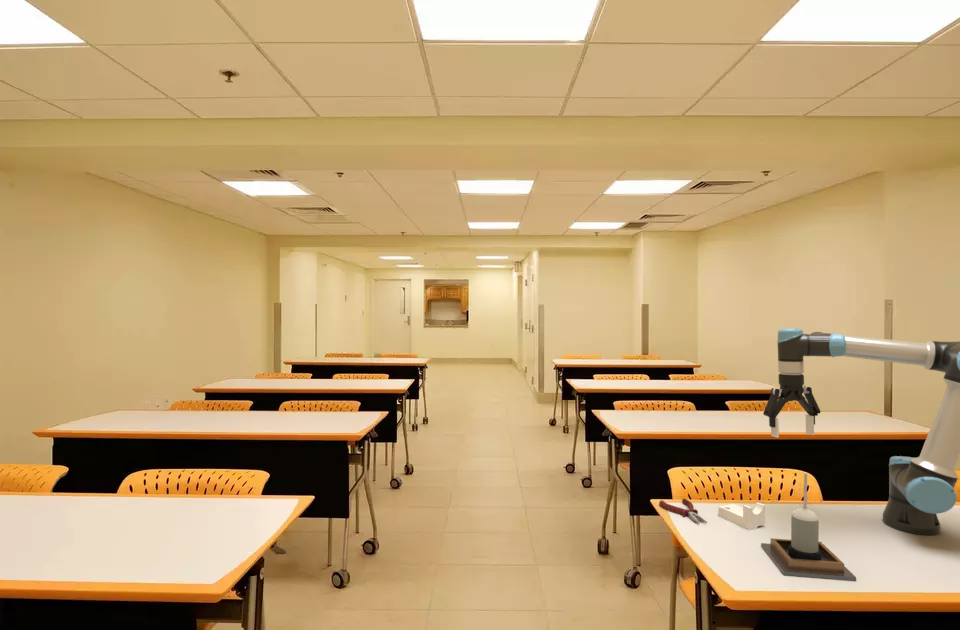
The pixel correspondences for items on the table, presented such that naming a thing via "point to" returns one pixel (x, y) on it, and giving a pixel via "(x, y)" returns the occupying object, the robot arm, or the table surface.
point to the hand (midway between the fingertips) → (792, 435)
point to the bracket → (743, 515)
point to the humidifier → (804, 531)
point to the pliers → (683, 510)
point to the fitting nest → (807, 562)
